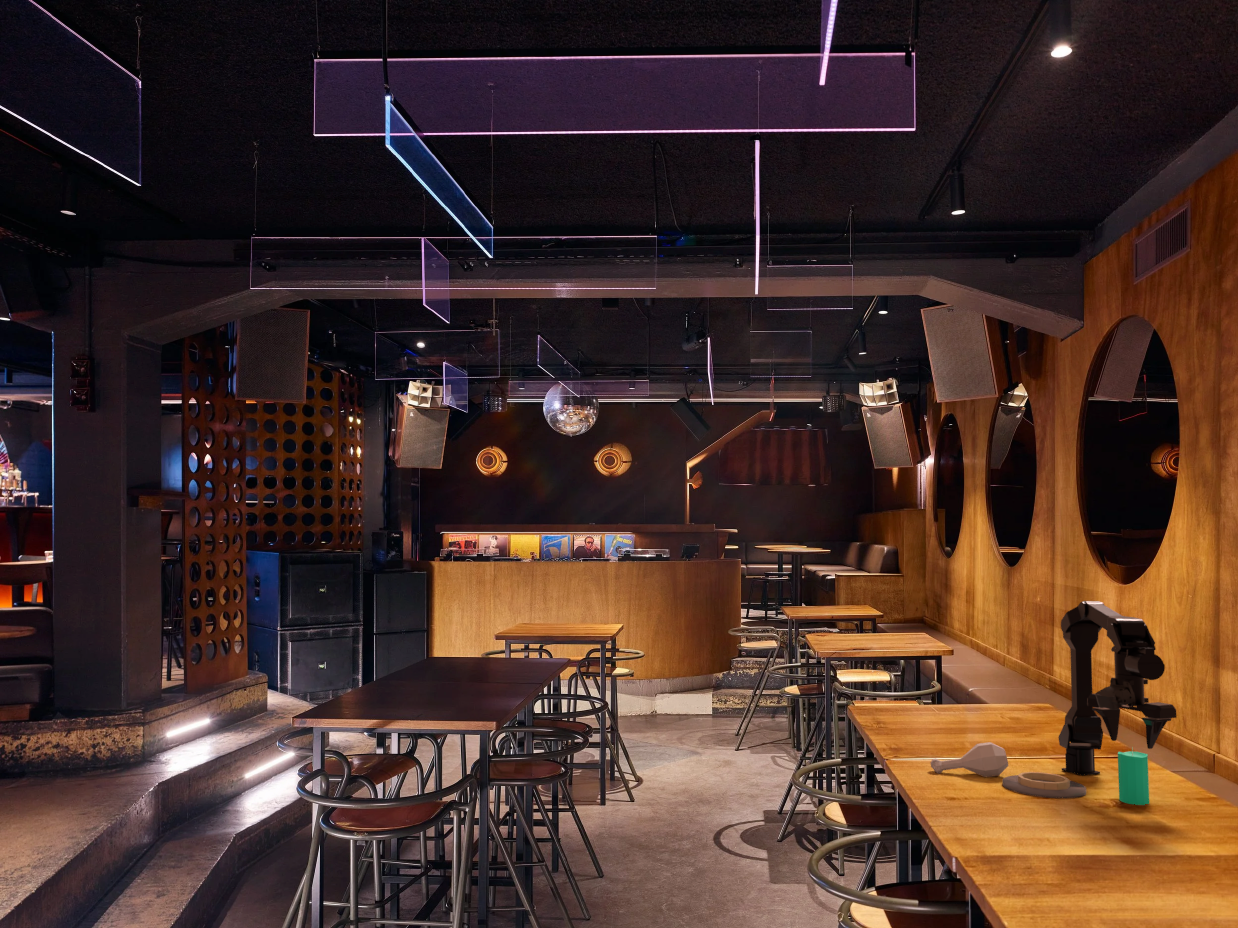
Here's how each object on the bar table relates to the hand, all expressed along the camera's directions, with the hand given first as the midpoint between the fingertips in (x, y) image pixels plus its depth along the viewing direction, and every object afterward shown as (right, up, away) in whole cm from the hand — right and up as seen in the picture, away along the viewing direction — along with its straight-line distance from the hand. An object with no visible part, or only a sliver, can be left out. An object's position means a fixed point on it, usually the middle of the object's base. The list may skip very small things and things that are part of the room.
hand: (1131, 744), depth 212 cm
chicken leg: (-28, -15, +23) cm, 39 cm away
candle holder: (-15, -13, +10) cm, 23 cm away
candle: (0, -13, -1) cm, 13 cm away
